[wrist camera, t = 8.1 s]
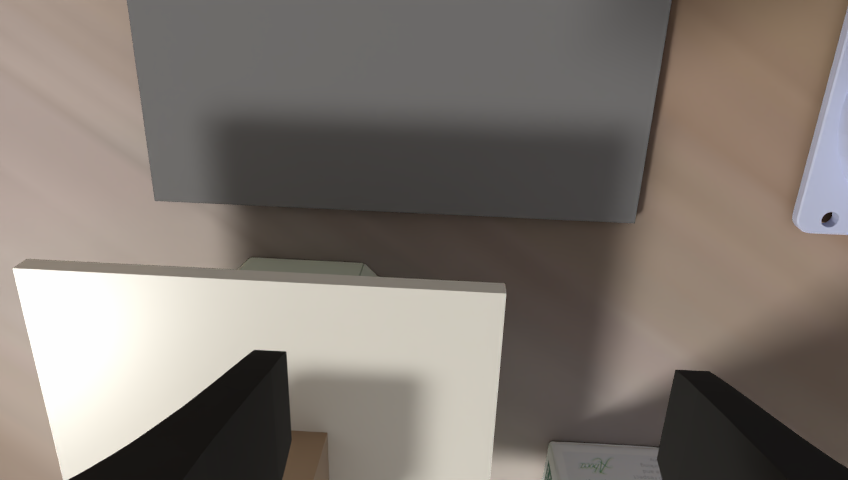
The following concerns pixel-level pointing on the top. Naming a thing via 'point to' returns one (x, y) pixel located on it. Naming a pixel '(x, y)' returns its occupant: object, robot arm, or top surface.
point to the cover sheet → (274, 331)
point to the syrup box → (600, 462)
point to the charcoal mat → (401, 103)
